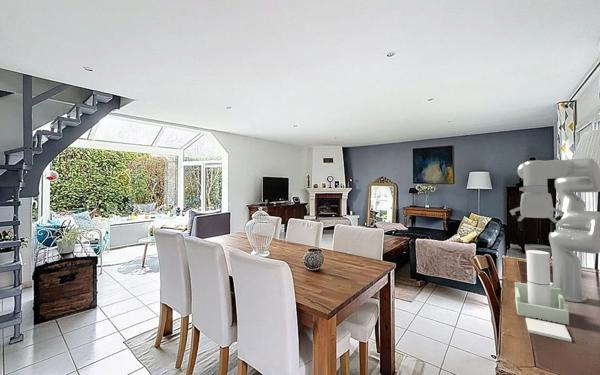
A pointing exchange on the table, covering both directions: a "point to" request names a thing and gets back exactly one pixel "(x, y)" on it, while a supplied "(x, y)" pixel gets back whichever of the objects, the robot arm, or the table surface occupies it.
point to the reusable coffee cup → (537, 248)
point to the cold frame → (553, 314)
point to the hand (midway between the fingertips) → (536, 231)
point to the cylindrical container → (538, 278)
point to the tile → (548, 329)
